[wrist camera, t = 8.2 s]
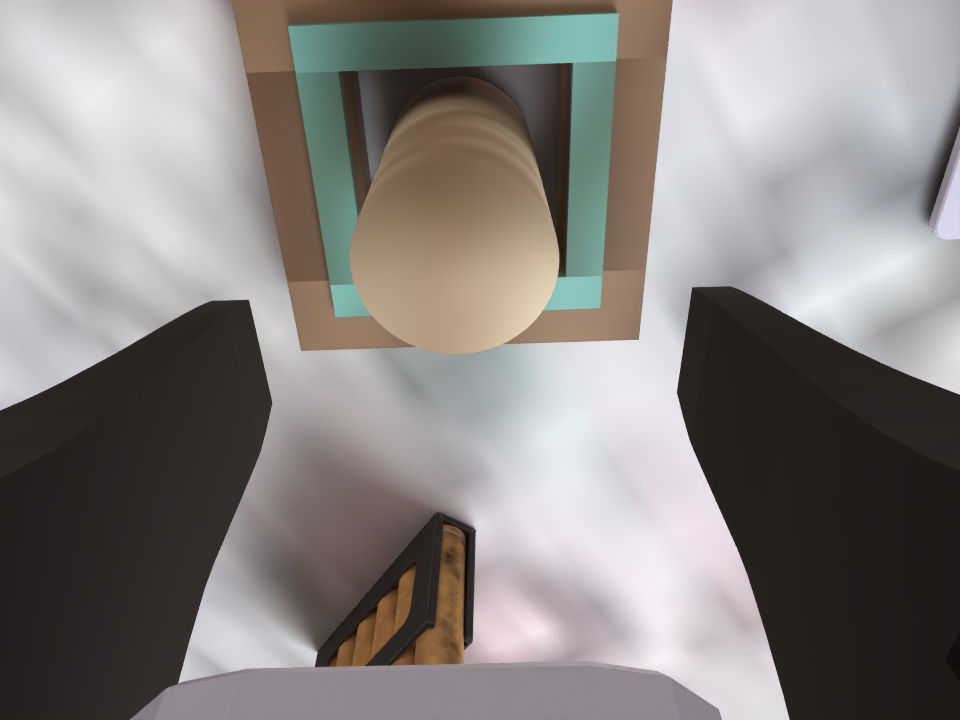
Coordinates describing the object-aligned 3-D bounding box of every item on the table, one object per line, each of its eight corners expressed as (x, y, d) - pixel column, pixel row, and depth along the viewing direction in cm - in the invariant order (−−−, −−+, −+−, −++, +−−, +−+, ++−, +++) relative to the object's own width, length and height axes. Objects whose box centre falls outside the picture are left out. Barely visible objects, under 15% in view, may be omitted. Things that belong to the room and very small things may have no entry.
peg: (530, 73, 19) (562, 157, 12) (529, 214, 21) (556, 351, 14) (384, 78, 19) (336, 164, 12) (397, 218, 21) (362, 357, 14)
